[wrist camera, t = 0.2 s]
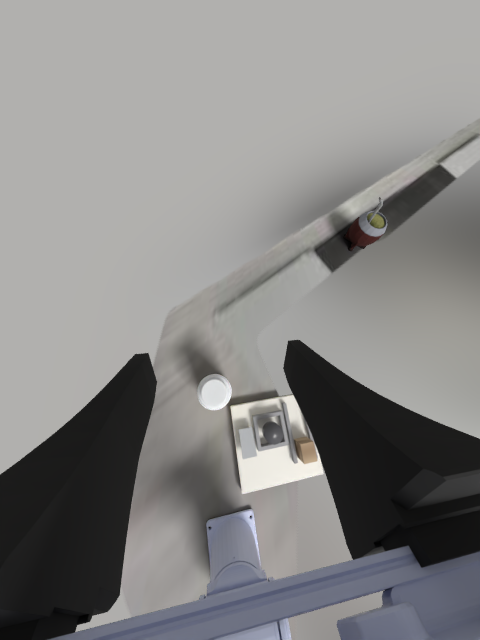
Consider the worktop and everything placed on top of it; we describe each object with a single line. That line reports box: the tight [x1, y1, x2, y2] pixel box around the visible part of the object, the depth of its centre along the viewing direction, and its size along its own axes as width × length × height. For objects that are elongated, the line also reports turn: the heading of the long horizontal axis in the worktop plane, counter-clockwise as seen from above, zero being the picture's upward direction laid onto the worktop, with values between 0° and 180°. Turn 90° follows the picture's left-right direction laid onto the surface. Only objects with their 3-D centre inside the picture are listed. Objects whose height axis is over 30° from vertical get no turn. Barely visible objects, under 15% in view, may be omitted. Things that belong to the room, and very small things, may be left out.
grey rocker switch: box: [238, 427, 257, 459], centre depth 35 cm, size 4×2×1 cm, turn 9°
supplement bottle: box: [197, 374, 232, 410], centre depth 35 cm, size 6×6×10 cm
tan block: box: [294, 437, 318, 464], centre depth 36 cm, size 3×2×3 cm
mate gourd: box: [343, 197, 387, 251], centre depth 46 cm, size 8×8×15 cm
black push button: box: [262, 421, 283, 445], centre depth 35 cm, size 3×3×2 cm
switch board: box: [230, 394, 323, 494], centre depth 37 cm, size 14×15×3 cm
